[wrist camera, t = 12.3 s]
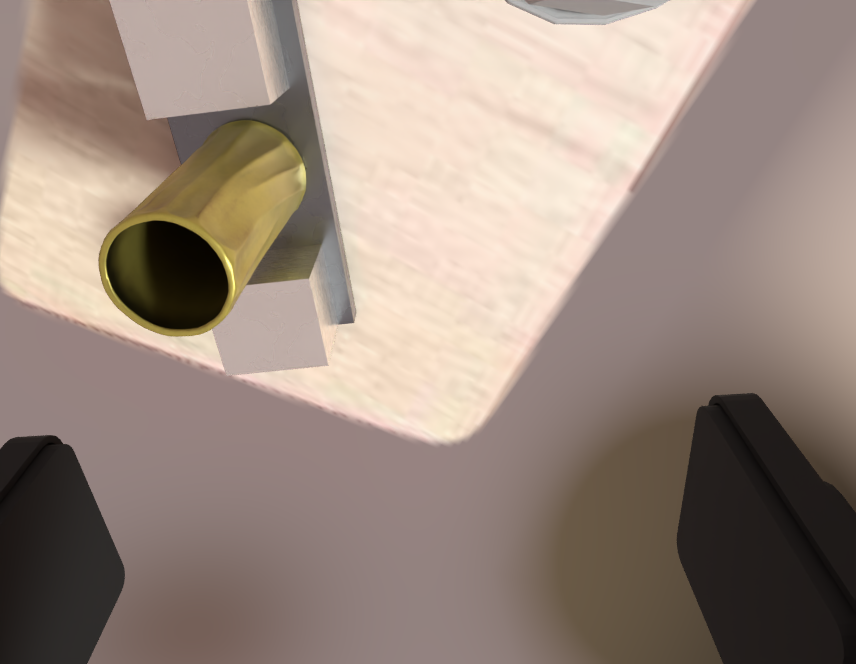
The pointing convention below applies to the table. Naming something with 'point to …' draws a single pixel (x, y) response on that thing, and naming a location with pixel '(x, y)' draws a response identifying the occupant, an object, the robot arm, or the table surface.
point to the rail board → (269, 104)
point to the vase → (203, 230)
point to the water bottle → (585, 10)
